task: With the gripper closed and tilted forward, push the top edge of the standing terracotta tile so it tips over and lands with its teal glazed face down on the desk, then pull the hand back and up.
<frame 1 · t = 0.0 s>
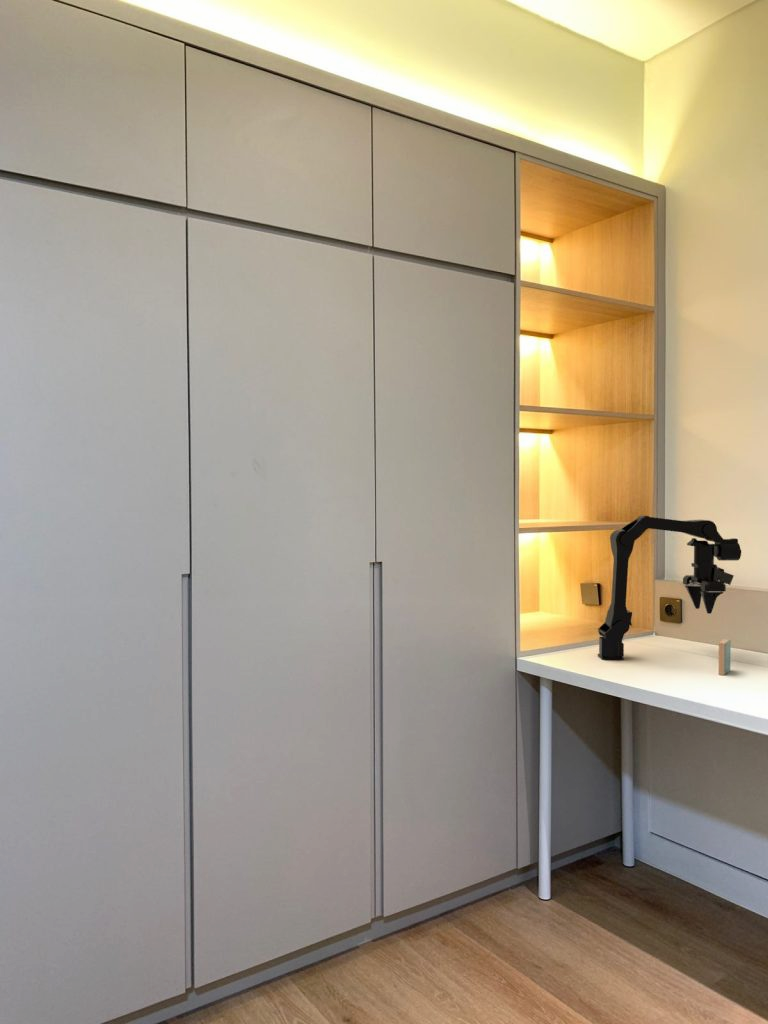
hand: (703, 611, 238), 14 cm above the table, tool pointing down, fingers open, 9 cm apart
glazed tile: (724, 672, 220), on the table
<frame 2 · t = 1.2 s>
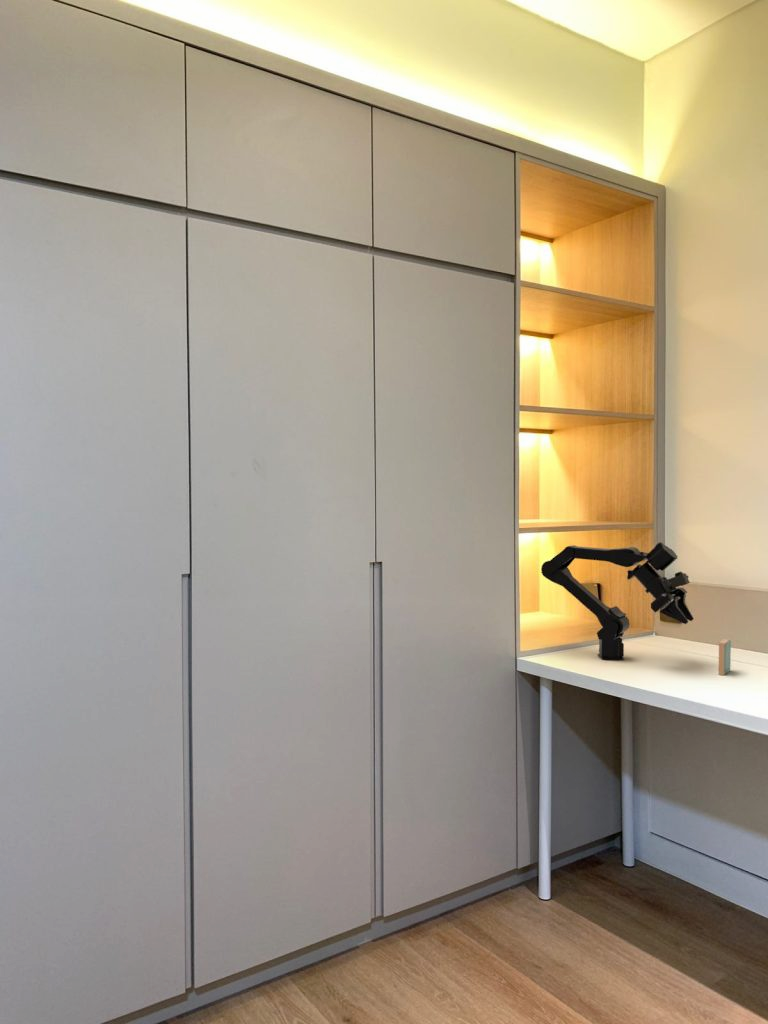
hand: (689, 621, 225), 14 cm above the table, tool tilted 45°, fingers open, 6 cm apart
nothing on the table moved.
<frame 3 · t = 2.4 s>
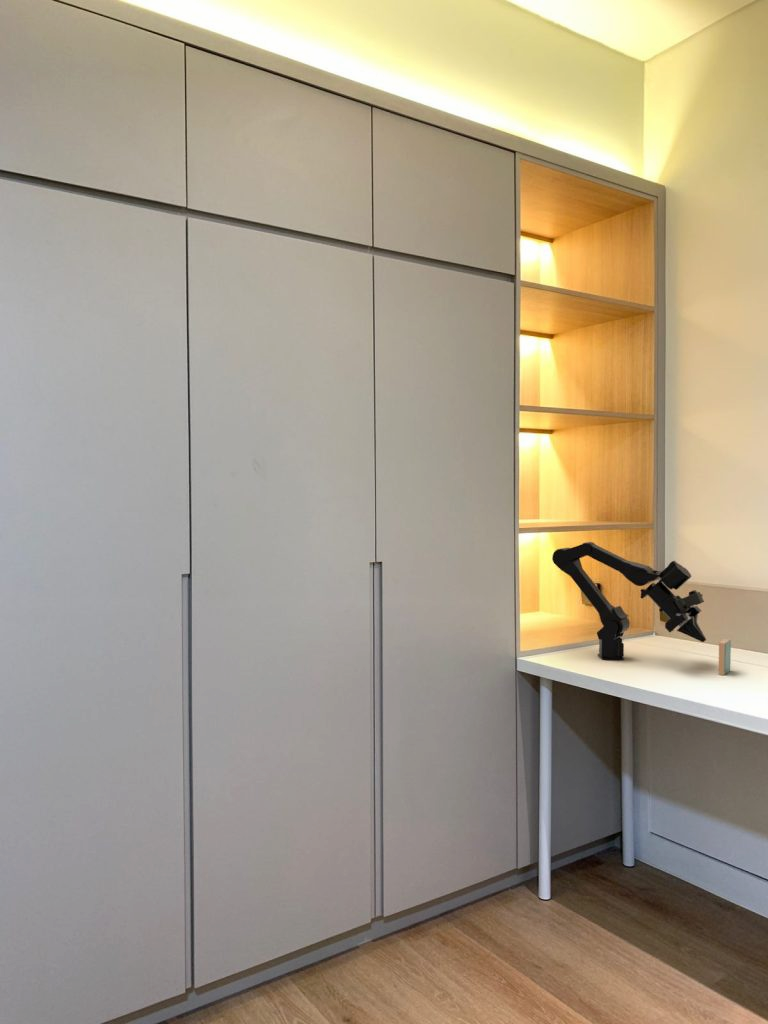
hand: (704, 641, 223), 8 cm above the table, tool tilted 45°, fingers closed
nothing on the table moved.
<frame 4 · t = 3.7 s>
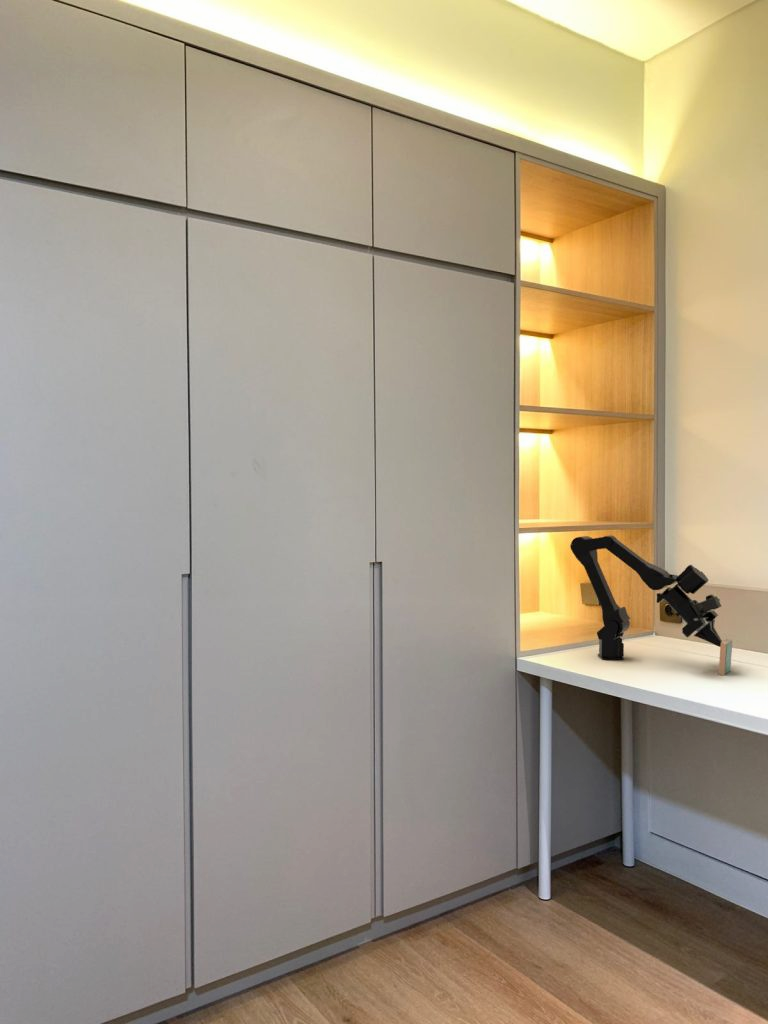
hand: (722, 646, 220), 7 cm above the table, tool tilted 45°, fingers closed, pressing on glazed tile
glazed tile: (724, 672, 220), on the table, touching gripper
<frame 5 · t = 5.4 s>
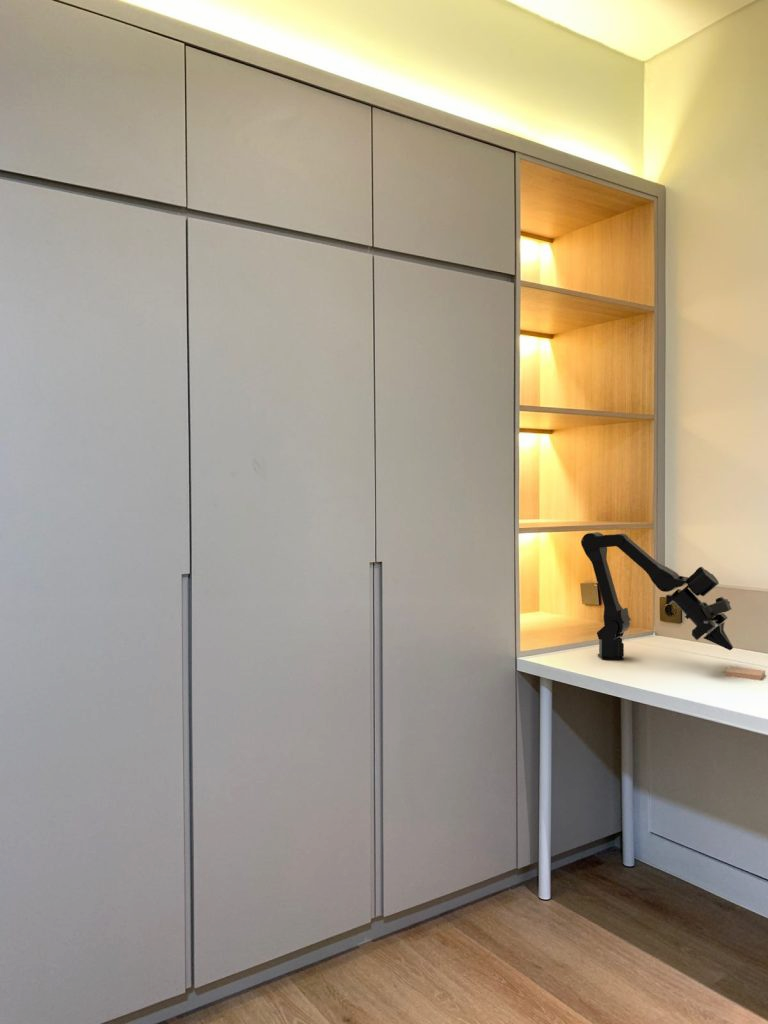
hand: (731, 649, 219), 7 cm above the table, tool tilted 45°, fingers closed
glazed tile: (728, 671, 219), on the table, tilted 90°
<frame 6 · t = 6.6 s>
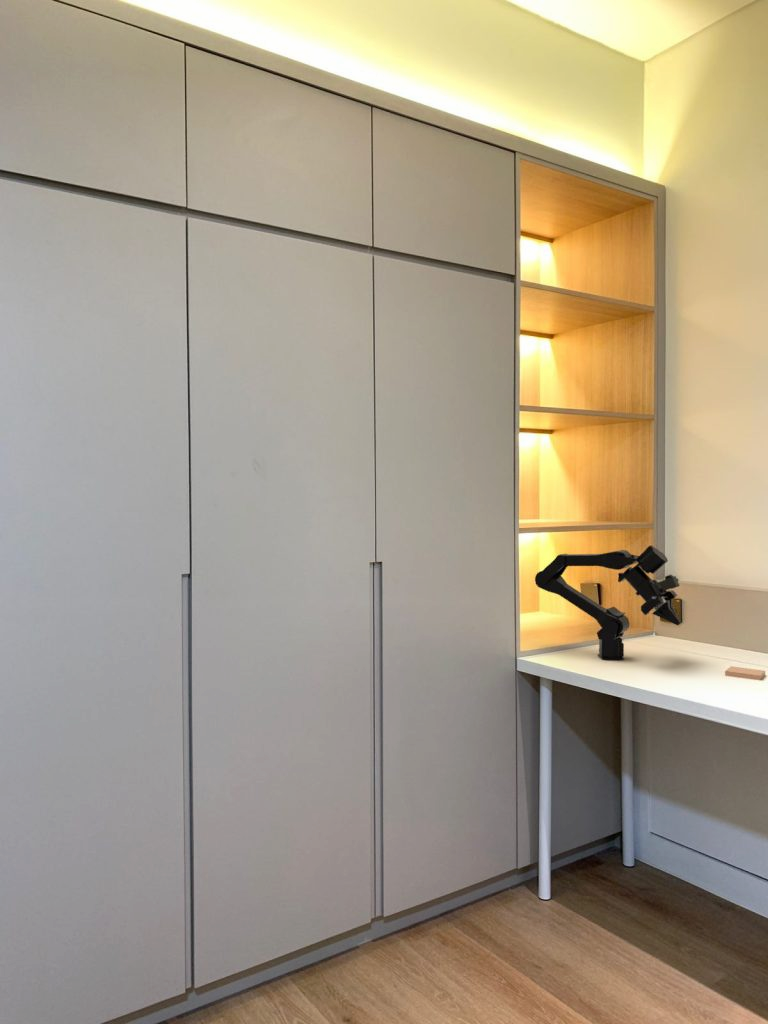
hand: (679, 624, 227), 12 cm above the table, tool tilted 45°, fingers closed
nothing on the table moved.
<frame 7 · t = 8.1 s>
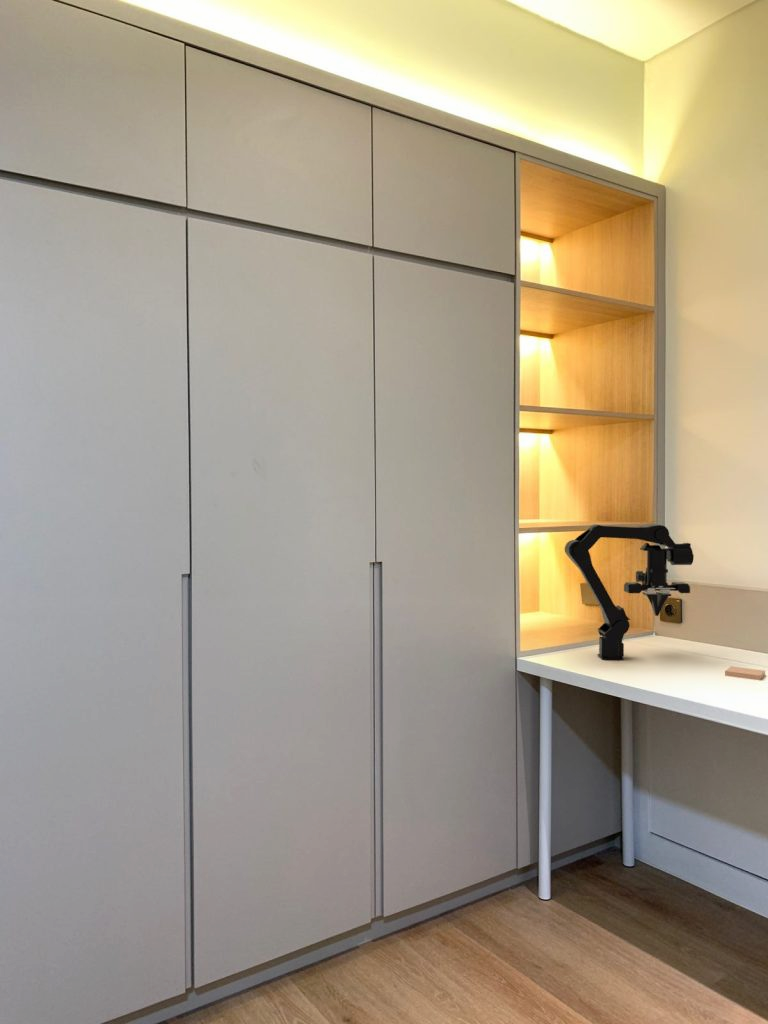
hand: (656, 615, 239), 13 cm above the table, tool pointing down, fingers closed
nothing on the table moved.
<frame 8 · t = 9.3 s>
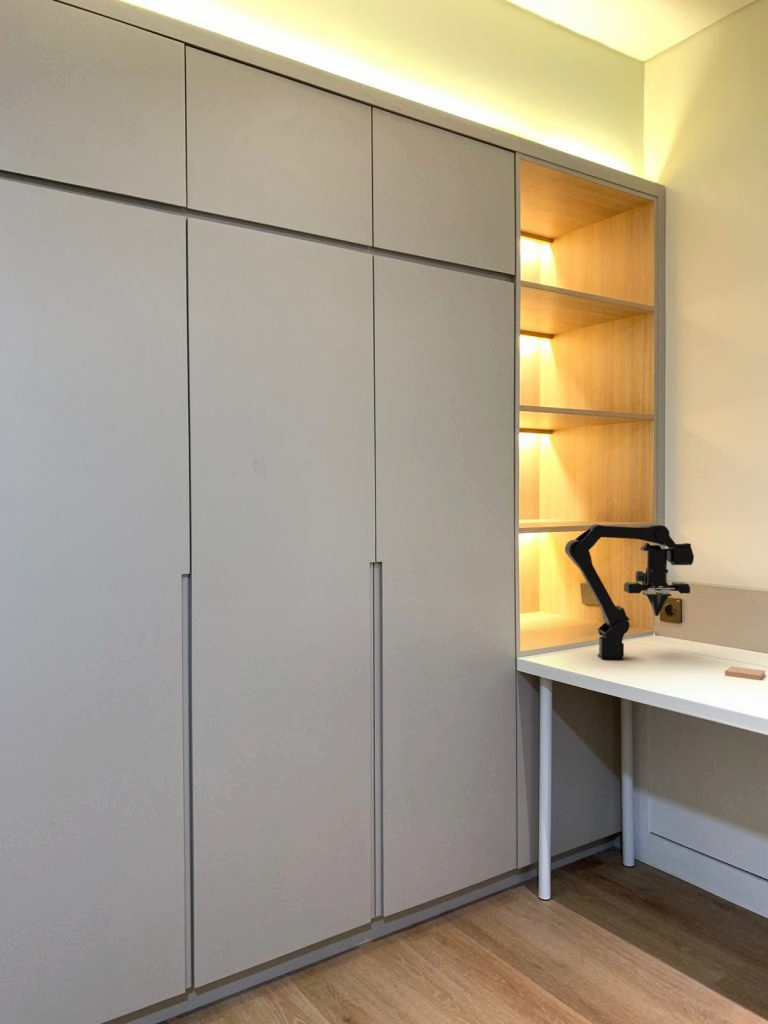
hand: (656, 615, 239), 13 cm above the table, tool pointing down, fingers closed
nothing on the table moved.
at the end: glazed tile tilted 90°; glazed tile inside the target area (0.2 cm from its centre), point 0.5 cm above the table; the gripper is holding nothing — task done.
